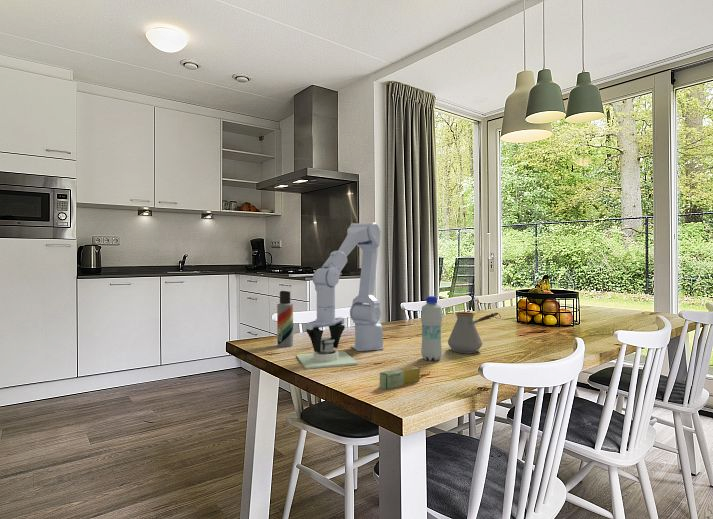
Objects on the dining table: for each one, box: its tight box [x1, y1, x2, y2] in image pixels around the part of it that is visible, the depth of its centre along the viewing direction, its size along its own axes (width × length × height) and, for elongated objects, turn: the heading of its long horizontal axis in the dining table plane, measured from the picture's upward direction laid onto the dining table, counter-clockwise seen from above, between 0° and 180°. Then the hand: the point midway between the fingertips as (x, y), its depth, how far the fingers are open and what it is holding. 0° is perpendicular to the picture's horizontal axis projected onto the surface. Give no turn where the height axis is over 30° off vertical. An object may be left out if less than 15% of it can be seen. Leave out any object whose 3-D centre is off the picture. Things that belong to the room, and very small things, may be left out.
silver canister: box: [320, 336, 335, 354], centre depth 138 cm, size 5×5×6 cm
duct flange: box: [295, 349, 359, 370], centre depth 137 cm, size 16×16×3 cm
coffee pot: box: [447, 311, 501, 354], centre depth 145 cm, size 21×12×15 cm, turn 27°
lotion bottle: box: [276, 290, 294, 348], centre depth 159 cm, size 6×6×20 cm
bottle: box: [420, 295, 443, 362], centre depth 138 cm, size 7×7×20 cm
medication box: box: [378, 365, 420, 390], centre depth 112 cm, size 12×3×4 cm, turn 128°
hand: (326, 349), depth 137 cm, fingers open, 7 cm apart
